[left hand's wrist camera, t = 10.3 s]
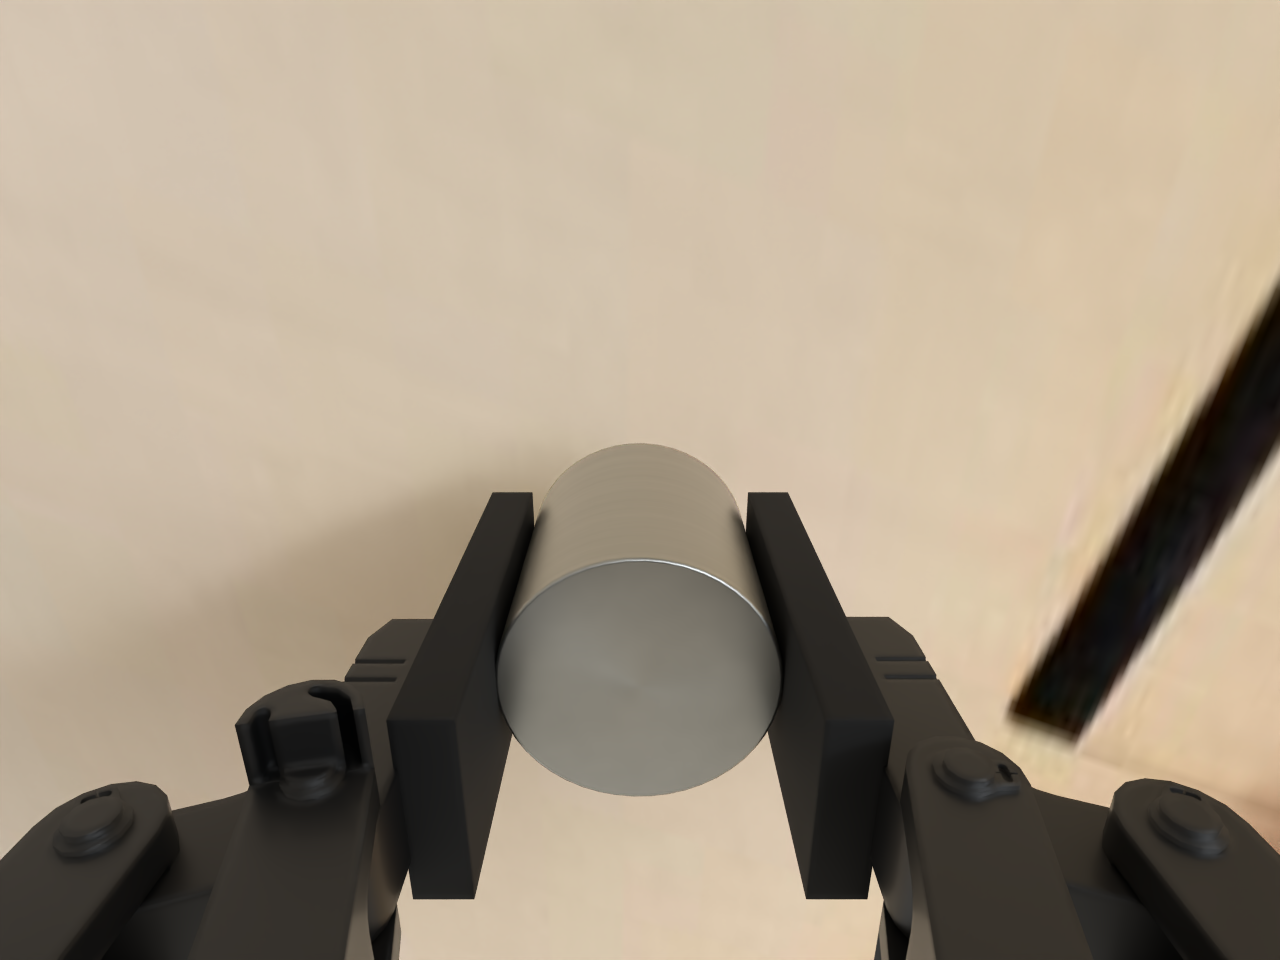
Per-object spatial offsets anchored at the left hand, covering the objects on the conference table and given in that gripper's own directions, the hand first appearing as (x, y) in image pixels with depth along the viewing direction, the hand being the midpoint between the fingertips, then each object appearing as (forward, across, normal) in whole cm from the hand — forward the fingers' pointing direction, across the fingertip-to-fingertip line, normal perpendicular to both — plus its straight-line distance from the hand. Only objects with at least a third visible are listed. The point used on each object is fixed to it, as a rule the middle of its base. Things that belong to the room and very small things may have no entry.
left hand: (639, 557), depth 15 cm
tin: (0, 0, 0) cm, 0 cm away
